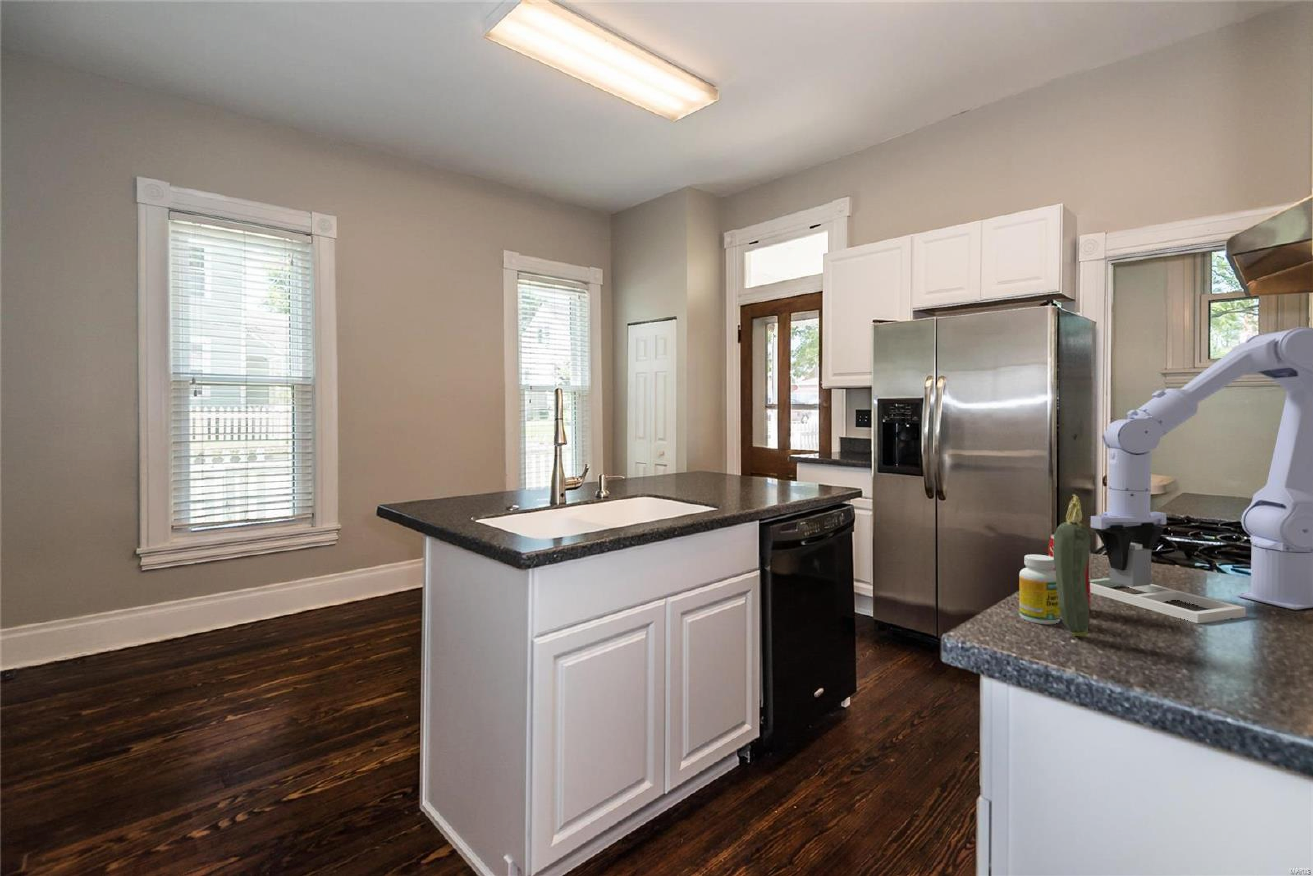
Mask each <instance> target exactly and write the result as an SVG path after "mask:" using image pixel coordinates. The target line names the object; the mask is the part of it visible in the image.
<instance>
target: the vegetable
mask: <svg viewBox="0 0 1313 876" xmlns="http://www.w3.org/2000/svg"><path fill="white" fill-rule="evenodd" d="M1071 496H1072V499H1071V501H1069V503H1068V509H1067V512H1066V515H1065V520H1066V521H1064V522H1062V523H1060V524H1059V525H1058V526H1057V528H1056V530H1055V532H1054V534H1055V535H1054V534H1053V535H1054V549H1053V557H1054V565H1055V573H1056V584H1057V592H1058V594H1057V595H1058V603H1059V609H1060V617H1061V620H1062V622H1063V625H1064V626H1065V628H1066V629H1068V630H1069V632H1070V633H1071V634H1072V635H1073V637H1076V636H1077V637H1083V638H1085V637H1086V634H1088V632H1089V630H1088V629H1089V625H1090V611H1089V603H1088V596H1087V591H1086V569H1087V563H1088V557H1089V552H1090V548H1091V535H1090V532H1089V531H1088V529H1087V528H1086V527H1085V526H1084V525H1083V524H1081V521H1082V520H1083V519H1082V518H1083V512H1082V508H1081V507H1082V506H1081V501H1080V498H1079V497H1078V495H1076V494H1072V495H1071Z"/></svg>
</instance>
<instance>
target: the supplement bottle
mask: <svg viewBox="0 0 1313 876" xmlns="http://www.w3.org/2000/svg"><path fill="white" fill-rule="evenodd" d="M1023 560H1024V562H1023V563H1024V564H1023V565H1025V567H1024V568H1022V569H1021V570H1020V571H1019V575H1018V577H1019V580H1018V581H1019V583H1018V584H1019V593H1018V595H1019V603H1018V604H1019V607H1018V610H1019V612H1018V613H1019V616H1020V617H1021V619H1022V620H1024V621H1027V622H1029V623H1034V624H1038V625H1056V623H1057V624H1058V623H1059V622H1060V621H1061V613H1060V609H1059V603H1058V595H1057V594H1058V592H1057V584H1056V573H1055V571H1054V570H1053V569H1054V568H1055V565H1054V558H1053V557H1050V556H1048V555H1045V554H1044V555H1043V554H1032V553H1031V554H1026V555H1024V559H1023Z"/></svg>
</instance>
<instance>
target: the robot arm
mask: <svg viewBox="0 0 1313 876" xmlns="http://www.w3.org/2000/svg"><path fill="white" fill-rule="evenodd" d="M1251 373H1252V374H1253V373H1258V374H1259V375H1262V376H1264V377H1266V378H1268V379H1271V380H1273V381H1274V382H1275V383H1277V384H1278V386H1280V387H1281V388H1282V389H1283V390H1285V391H1286V397H1285V402H1284V405H1283V410H1282V414H1281V419H1280V424H1279V428H1278V433H1277V437H1276V442H1275V446H1274V450H1273V453H1272V454H1273V455H1272V459H1271V462H1270V463H1271V464H1270V467H1269V468H1270V469H1269V474H1268V477H1267V481H1266V484H1265V486H1263V487H1262V488H1261V489H1259V490H1257V492H1255V493H1254V494H1253V496H1252V499H1251V503H1250V504H1249V506H1248V507H1247V508H1245V510H1244V512H1242V515H1241V520H1240V521H1241V526H1242V529H1243V530H1244V532H1245V533H1246V534H1247V535H1248V536H1250V543H1251V551H1250V553H1251V560H1250V591H1243V592H1242V591H1241V592H1236V596H1237V597H1240V598H1244V599H1248V600H1253V601H1257V602H1261V603H1265V604H1269V605H1273V606H1277V607H1282V608H1286V609H1290V610H1296V611H1297V610H1304V609H1312V608H1313V327H1309V326H1298V327H1294V328H1292V329H1287V330H1283V331H1276V332H1271V333H1259V334H1255V335H1252V336H1251V337H1249V338H1248V339H1246V340H1245V341H1244V342H1243V343H1239V344H1238V345H1236V346H1234V347H1233V348H1231V350H1230V351H1228V352H1227V353H1226V354H1225V355H1223V356H1222V357H1221V358H1219V359H1218V360H1217V361H1216V362H1214V363H1213V364H1212V365H1210V366H1209V367H1207V368H1206V369H1204V371H1202V372H1201V373H1199V374H1198V375H1197V376H1196V377H1194V378H1193V379H1191V380H1190V381H1189V382H1188V383H1187V384H1185V385H1184V386H1182V387H1181V388H1166V389H1165V390H1161V389H1160V390H1156V391H1154V393H1152V394H1151V397H1152V398H1151V399H1150V400H1148V401H1147V402H1146V403H1144V404H1143V405H1142V406H1140V407H1138V408H1137V409H1131V410H1129V411H1128V412H1127V413H1126V415H1127V419H1125V418H1123V419H1117V420H1114V421H1113V422H1111V423H1110V424H1109V425H1107V427H1106V430H1105V431H1104V434H1102V435H1101V439H1102V442H1103V444H1104V446H1105V447H1107V449H1108V451H1109V452H1108V500H1107V501H1108V503H1107V504H1108V506H1107V507H1108V508H1107V511H1102V514H1098V515H1091V516H1090V528H1093V529H1094V532H1095V533H1096V534H1097V535H1098V537H1099V539H1100V540H1101V542H1102V544H1103V546H1104V549H1105V552H1106V556H1107V558H1108V561H1109V567H1110V566H1111V568H1114V569H1118V570H1125V569H1126V566H1127V560H1128V551H1129V547H1130V543H1136V544H1141V545H1142V548H1145V549H1150V550H1151V552H1153V551H1152V550H1153V548H1154V547H1155V545H1156V543H1157V542H1158V540H1159V539H1160V537H1161V536H1162V535H1163V534H1164V528H1163V527H1162V526H1157V525H1167V513H1165V512H1159V511H1151V502H1152V501H1151V500H1152V499H1151V491H1152V490H1151V489H1152V486H1151V485H1152V483H1151V481H1152V450H1155V449H1156V448H1157V447H1158V445H1159V444H1160V441H1161V438H1163V437H1164V436H1165V435H1167V434H1168V433H1170V432H1171V431H1173V430H1174V429H1175V428H1177V427H1180V426H1181V425H1182V424H1184V423H1185V422H1187V420H1189V419H1191V418H1192V417H1193V416H1195V415H1196V414H1197V413H1198V410H1199V409H1198V407H1199V403H1201V402H1202V401H1204V400H1205V399H1207V398H1209V397H1210V396H1212V395H1214V394H1215V393H1217V392H1218V391H1220V390H1222V389H1223V388H1226V387H1227V386H1228V385H1230V384H1232V383H1233V382H1234V381H1237V380H1238V379H1240V378H1241V377H1242V378H1243V376H1245V375H1247V374H1251ZM1155 525H1156V526H1155Z"/></svg>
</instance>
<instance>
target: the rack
mask: <svg viewBox="0 0 1313 876" xmlns="http://www.w3.org/2000/svg"><path fill="white" fill-rule="evenodd" d="M1117 586H1118V587H1126V588H1128V587H1129V589H1132V590H1136V591H1141V592H1143V593H1138V594H1134V593H1129V592H1125V591H1122V590H1118V589H1114V588H1115V587H1116V588H1117ZM1090 594H1094V595H1098V596H1101V597H1105V598H1108V599H1111V600H1114V601H1118V602H1122V603H1126V604H1128V605H1132V606H1136V607H1139V608H1142V609H1147V610H1150V611H1153V612H1156V613H1159V614H1164V615H1166V616H1170V617H1175V618H1177V619H1180V618H1181V620H1184V619H1185V620H1184V621H1187V620H1188V621H1187V622H1191V623H1195V624H1197V623H1198V624H1204V623H1211V622H1217V621H1218V622H1219V621H1225V619H1226V620H1231V619H1230V618H1233V619H1241V618H1246V616H1247V607H1244V606H1240V605H1237V604H1233V603H1229V602H1225V601H1221V600H1217V599H1213V598H1209V597H1205V596H1202V595H1201V596H1200V595H1197V594H1195V593H1193V594H1192V593H1190V592H1189V593H1188V592H1185V591H1181V590H1178V589H1173V588H1169V587H1165V586H1161V585H1158V584H1153V583H1151V585H1145V586H1136V587H1131V586H1127V585H1124V584H1120V583H1116V582H1112V581H1109V577H1105V578H1103V577H1102V578H1095V579H1094V578H1093V579H1090ZM1171 600H1176V601H1177V600H1180V601H1179V602H1181V601H1182V602H1181V603H1185V602H1186V604H1189V603H1190V604H1189V605H1192V604H1195V605H1194V606H1196V605H1198V606H1197V607H1200V608H1205V610H1196V611H1195V610H1191V609H1188V608H1184V607H1180V606H1178V605H1173V604H1170V603H1167V602H1166V601H1168V602H1172V601H1171ZM1165 602H1166V603H1165Z"/></svg>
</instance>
